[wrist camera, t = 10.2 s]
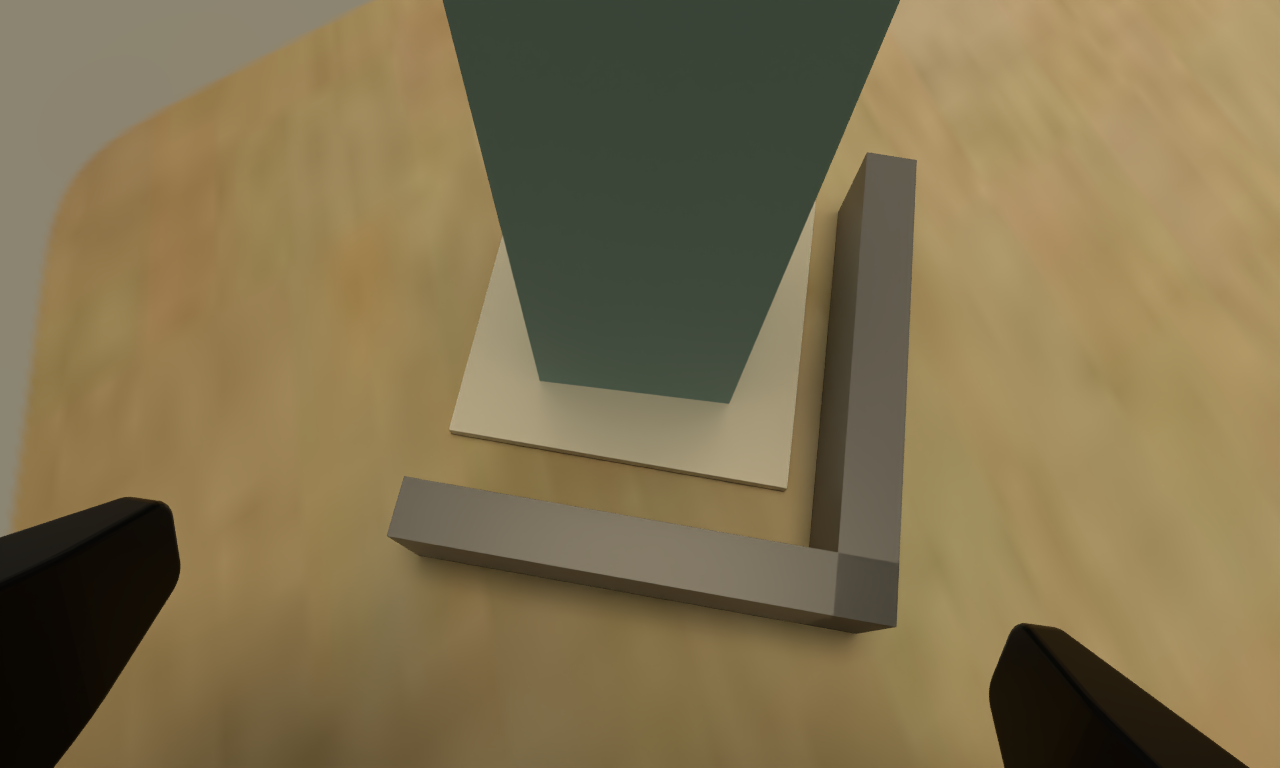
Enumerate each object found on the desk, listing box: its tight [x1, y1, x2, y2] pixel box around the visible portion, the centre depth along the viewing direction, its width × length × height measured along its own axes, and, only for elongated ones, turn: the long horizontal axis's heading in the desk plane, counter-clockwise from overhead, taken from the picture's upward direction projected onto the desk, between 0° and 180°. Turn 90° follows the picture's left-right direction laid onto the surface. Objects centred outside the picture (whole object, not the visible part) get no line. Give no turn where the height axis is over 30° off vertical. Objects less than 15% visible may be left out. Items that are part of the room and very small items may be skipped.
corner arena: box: [387, 152, 917, 634], centre depth 18 cm, size 11×10×2 cm
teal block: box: [443, 0, 900, 404], centre depth 12 cm, size 5×5×15 cm
